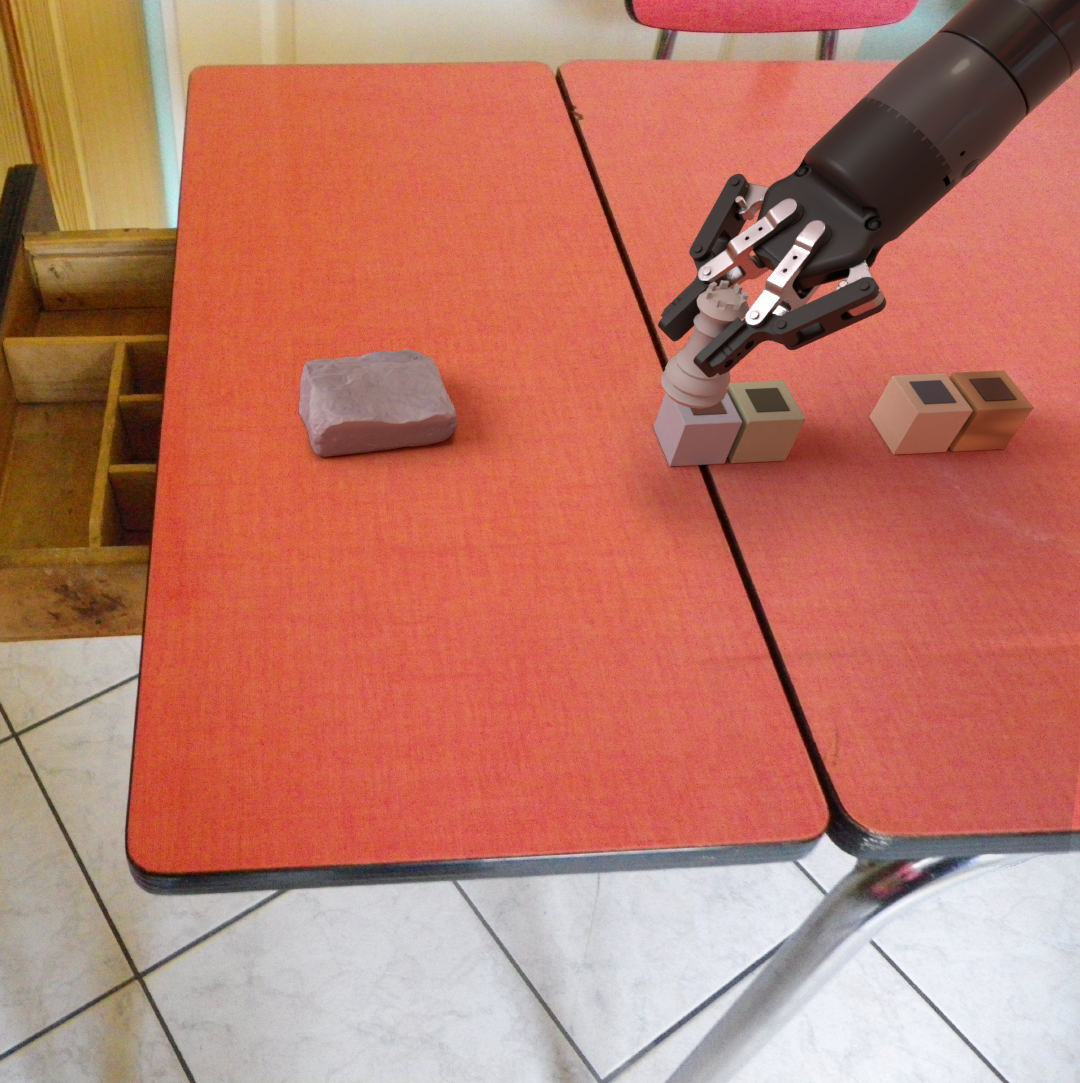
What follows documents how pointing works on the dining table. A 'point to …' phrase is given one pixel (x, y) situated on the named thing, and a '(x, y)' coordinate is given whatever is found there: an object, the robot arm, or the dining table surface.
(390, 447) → the stone block
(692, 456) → the block
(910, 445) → the block
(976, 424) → the block
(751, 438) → the block
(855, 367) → the dining table surface
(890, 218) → the robot arm
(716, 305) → the rook chess piece
